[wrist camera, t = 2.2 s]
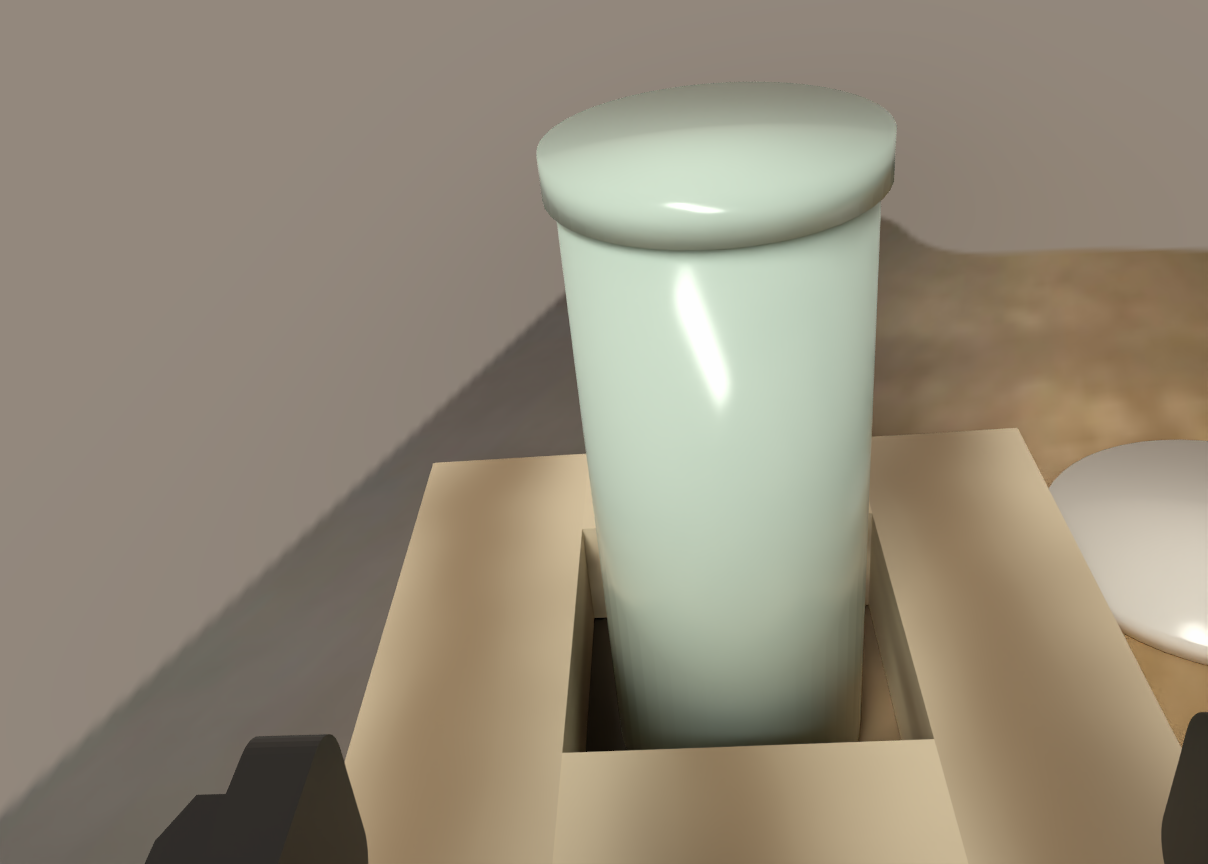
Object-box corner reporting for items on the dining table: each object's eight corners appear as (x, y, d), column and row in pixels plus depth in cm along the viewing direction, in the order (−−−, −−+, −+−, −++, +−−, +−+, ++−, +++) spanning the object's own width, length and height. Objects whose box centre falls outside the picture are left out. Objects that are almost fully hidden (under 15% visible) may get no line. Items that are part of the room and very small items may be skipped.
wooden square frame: (1006, 516, 31) (1017, 427, 30) (1217, 995, 20) (1254, 890, 18) (451, 546, 33) (433, 462, 31) (337, 1011, 21) (299, 915, 19)
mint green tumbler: (838, 578, 30) (851, 46, 22) (890, 817, 23) (931, 181, 16) (617, 588, 30) (557, 72, 23) (608, 825, 24) (518, 214, 16)
